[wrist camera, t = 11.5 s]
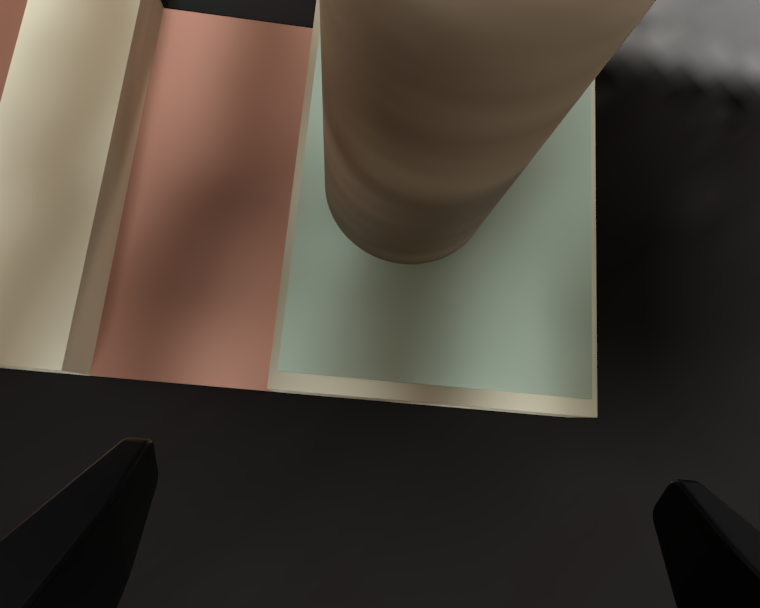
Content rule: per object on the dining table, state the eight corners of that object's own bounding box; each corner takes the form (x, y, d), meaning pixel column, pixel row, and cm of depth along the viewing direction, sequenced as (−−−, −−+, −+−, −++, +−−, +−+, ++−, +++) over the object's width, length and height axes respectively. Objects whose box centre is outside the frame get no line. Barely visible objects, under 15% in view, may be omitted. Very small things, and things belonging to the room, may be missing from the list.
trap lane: (-575, 317, 15) (-729, 301, 13) (-391, -62, 18) (-492, -127, 15) (567, 417, 17) (600, 417, 15) (568, 68, 20) (597, 27, 18)
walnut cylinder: (520, 193, 16) (803, -141, 6) (405, 298, 15) (535, 89, 5) (409, 82, 17) (518, -386, 7) (290, 177, 16) (221, -215, 6)
